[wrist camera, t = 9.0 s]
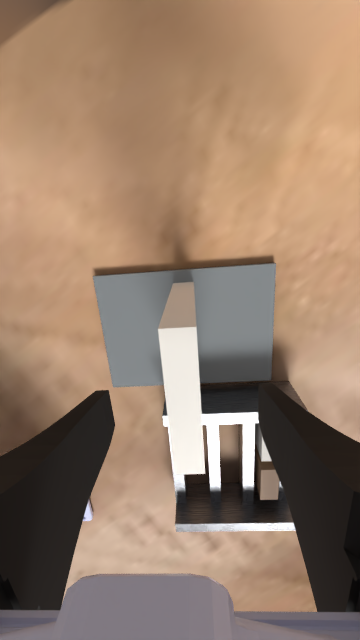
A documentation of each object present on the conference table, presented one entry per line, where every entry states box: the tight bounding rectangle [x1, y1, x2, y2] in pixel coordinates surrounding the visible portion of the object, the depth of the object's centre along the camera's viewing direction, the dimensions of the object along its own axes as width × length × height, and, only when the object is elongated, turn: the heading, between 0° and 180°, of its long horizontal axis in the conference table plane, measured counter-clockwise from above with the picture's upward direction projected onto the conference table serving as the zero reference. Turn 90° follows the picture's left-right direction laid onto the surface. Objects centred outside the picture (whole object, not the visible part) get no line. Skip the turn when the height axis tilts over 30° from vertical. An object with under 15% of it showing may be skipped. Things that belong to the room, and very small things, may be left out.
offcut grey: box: [254, 423, 272, 461], centre depth 23 cm, size 2×4×3 cm, turn 4°
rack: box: [163, 381, 308, 532], centre depth 24 cm, size 11×13×4 cm
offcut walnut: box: [254, 444, 279, 500], centre depth 25 cm, size 2×4×3 cm, turn 4°
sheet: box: [158, 282, 205, 475], centre depth 17 cm, size 2×8×10 cm, turn 4°
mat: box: [93, 263, 276, 387], centre depth 22 cm, size 14×10×1 cm
